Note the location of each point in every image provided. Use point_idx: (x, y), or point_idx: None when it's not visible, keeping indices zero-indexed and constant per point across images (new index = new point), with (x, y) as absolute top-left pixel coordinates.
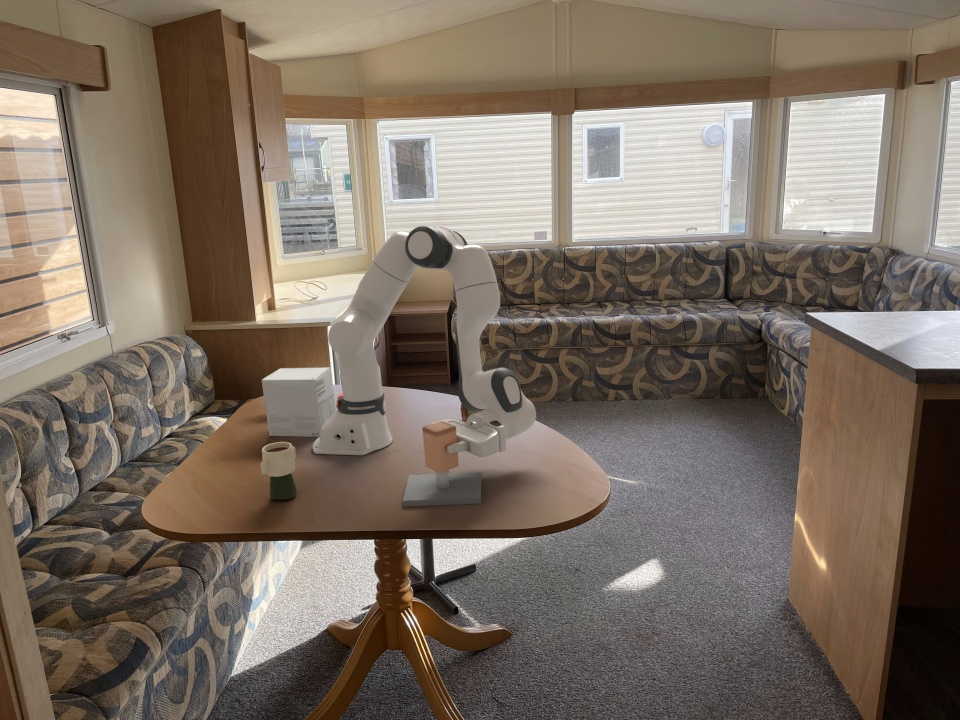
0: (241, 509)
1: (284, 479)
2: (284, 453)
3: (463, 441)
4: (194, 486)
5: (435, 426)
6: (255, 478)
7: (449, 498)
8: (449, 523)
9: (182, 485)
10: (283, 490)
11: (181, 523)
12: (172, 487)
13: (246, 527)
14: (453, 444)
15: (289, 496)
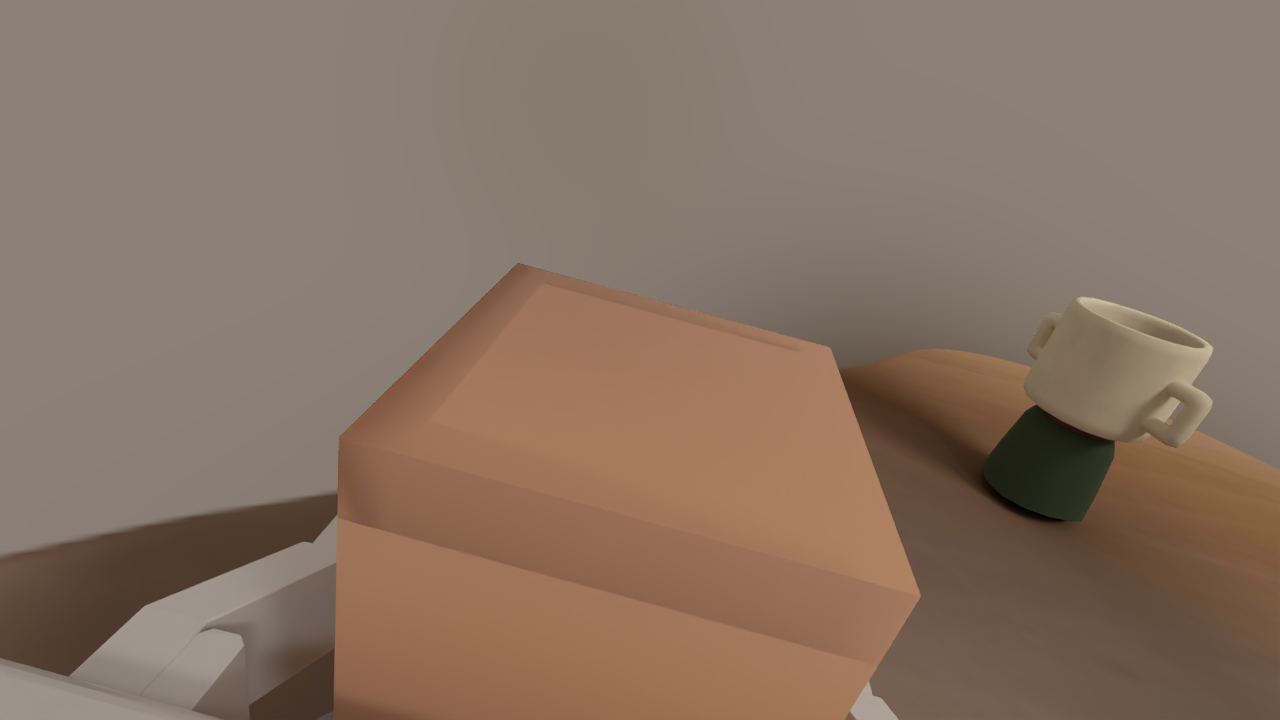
0: (987, 423)
1: (1030, 417)
2: (1076, 317)
3: (151, 683)
4: (1221, 468)
5: (717, 379)
6: (1257, 556)
7: (327, 717)
8: (234, 554)
9: (1238, 464)
10: (1001, 442)
11: (973, 365)
12: (1227, 451)
13: (866, 377)
14: (332, 545)
15: (989, 472)
